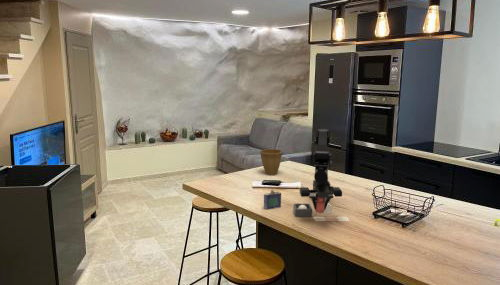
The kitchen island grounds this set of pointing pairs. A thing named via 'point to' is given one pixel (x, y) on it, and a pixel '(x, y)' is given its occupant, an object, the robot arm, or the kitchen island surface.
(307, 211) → the button housing
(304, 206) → the dome
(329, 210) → the beige cube
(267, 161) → the plant pot
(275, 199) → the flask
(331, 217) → the board
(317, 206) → the pawn
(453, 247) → the kitchen island surface
